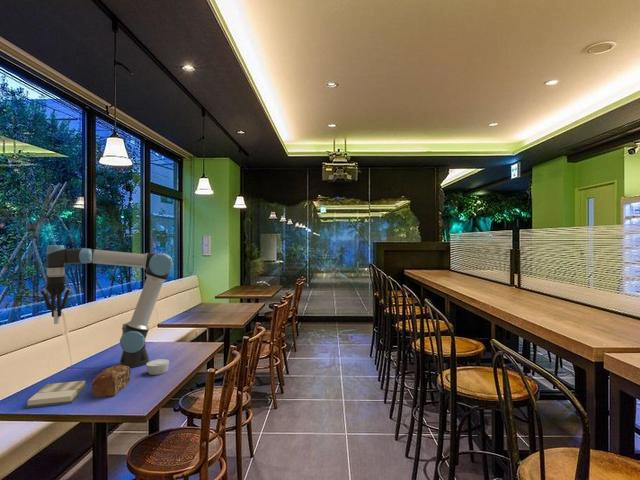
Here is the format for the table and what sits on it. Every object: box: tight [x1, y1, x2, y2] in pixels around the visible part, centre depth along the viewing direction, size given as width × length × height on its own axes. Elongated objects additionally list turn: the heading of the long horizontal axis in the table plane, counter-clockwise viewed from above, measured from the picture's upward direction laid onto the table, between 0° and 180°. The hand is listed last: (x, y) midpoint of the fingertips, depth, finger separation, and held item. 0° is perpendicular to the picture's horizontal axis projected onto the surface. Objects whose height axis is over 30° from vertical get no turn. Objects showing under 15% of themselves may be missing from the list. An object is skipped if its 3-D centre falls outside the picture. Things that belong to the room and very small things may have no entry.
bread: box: [91, 364, 131, 398], centre depth 185 cm, size 19×11×10 cm, turn 5°
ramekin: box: [145, 358, 170, 376], centre depth 208 cm, size 11×11×5 cm
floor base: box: [25, 383, 88, 409], centre depth 177 cm, size 17×20×3 cm
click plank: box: [36, 380, 87, 393], centre depth 181 cm, size 16×11×2 cm
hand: (56, 323), depth 198 cm, fingers closed
